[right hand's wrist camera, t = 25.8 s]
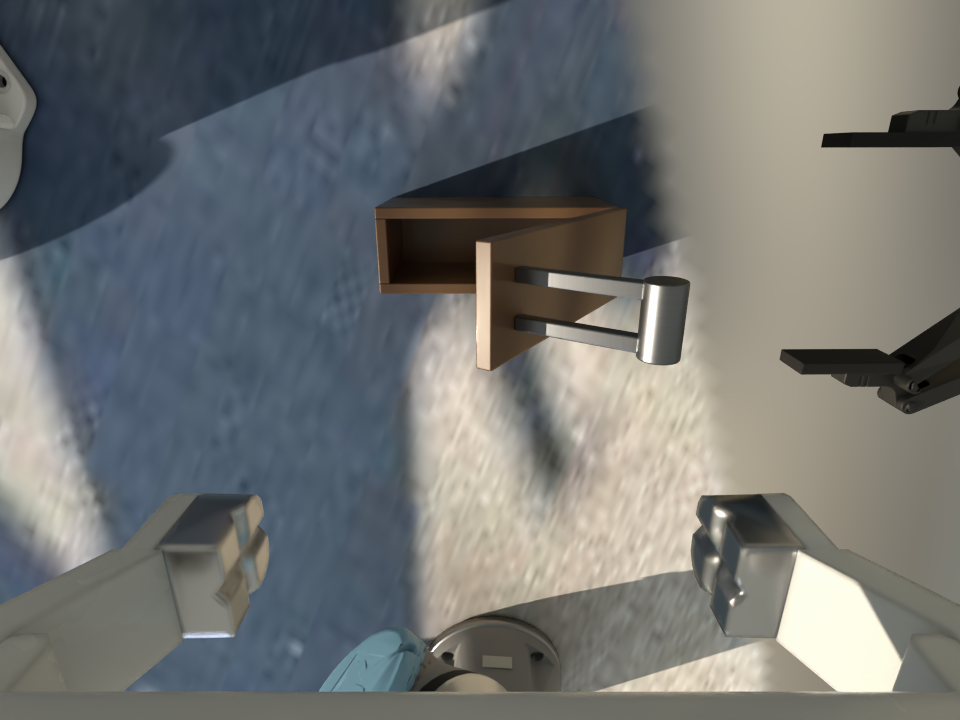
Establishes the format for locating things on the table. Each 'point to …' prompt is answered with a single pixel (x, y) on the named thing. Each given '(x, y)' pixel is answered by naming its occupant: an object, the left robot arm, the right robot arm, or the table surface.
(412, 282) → the chest
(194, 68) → the table surface
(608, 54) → the table surface
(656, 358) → the lid
